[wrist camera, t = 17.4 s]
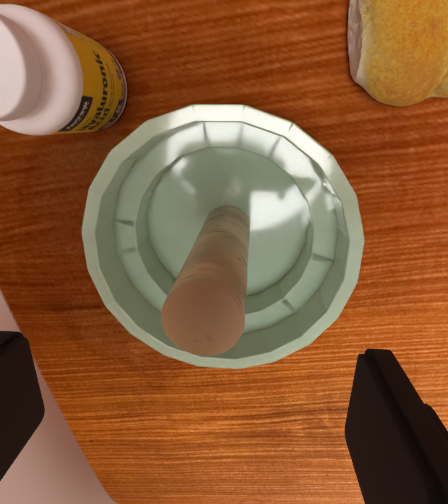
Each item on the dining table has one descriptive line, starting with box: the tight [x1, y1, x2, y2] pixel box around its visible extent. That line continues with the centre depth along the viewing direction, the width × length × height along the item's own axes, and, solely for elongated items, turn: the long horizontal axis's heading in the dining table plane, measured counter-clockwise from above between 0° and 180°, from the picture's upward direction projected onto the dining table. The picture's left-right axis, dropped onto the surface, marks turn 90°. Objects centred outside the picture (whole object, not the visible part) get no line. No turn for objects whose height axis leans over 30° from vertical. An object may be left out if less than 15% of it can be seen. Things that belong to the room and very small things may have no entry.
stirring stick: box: [161, 205, 250, 356], centre depth 18 cm, size 3×3×12 cm
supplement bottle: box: [0, 4, 127, 135], centre depth 17 cm, size 5×5×10 cm
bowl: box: [82, 104, 365, 369], centre depth 22 cm, size 16×16×6 cm
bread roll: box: [347, 0, 448, 106], centre depth 17 cm, size 8×9×4 cm
